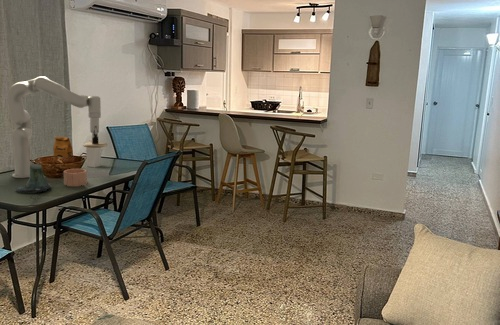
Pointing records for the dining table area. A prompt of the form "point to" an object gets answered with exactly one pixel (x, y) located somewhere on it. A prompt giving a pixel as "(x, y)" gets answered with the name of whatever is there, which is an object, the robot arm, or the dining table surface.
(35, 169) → the tree stump
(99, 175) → the mat
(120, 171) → the dining table surface
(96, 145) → the lid
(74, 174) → the bowl
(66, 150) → the coffee package
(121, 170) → the dining table surface
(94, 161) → the milk carton
